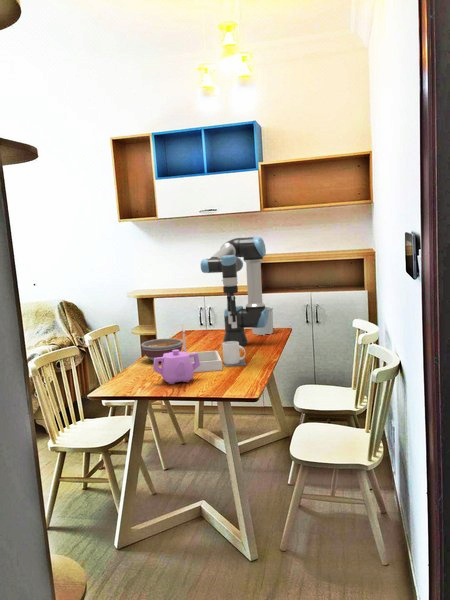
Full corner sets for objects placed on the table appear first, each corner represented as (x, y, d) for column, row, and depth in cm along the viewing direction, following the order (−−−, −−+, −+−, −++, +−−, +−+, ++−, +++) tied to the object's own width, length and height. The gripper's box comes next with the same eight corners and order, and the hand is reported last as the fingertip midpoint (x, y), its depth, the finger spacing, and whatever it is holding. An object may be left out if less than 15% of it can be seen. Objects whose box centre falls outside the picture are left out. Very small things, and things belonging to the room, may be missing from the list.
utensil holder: (267, 336, 367) (265, 309, 365) (247, 335, 375) (246, 309, 373) (277, 332, 379) (276, 306, 377) (258, 331, 387) (257, 305, 385)
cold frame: (217, 359, 310) (215, 321, 307) (222, 370, 286) (219, 329, 283) (184, 362, 308) (181, 324, 305) (185, 373, 284) (182, 331, 281)
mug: (243, 365, 291) (242, 344, 290) (221, 364, 295) (220, 344, 293) (248, 361, 299) (246, 341, 298) (226, 360, 303) (225, 341, 301)
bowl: (135, 364, 310) (133, 346, 309) (154, 354, 331) (153, 338, 330) (173, 365, 302) (171, 347, 301) (190, 355, 323) (189, 338, 322)
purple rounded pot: (184, 387, 257) (182, 355, 255) (150, 385, 265) (148, 353, 263) (204, 377, 274) (202, 346, 273) (171, 374, 282) (169, 345, 281)
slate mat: (243, 360, 303) (243, 359, 303) (246, 365, 293) (246, 364, 292) (223, 362, 302) (223, 361, 302) (225, 367, 291) (225, 365, 291)
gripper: (220, 283, 304) (223, 322, 307) (225, 288, 280) (228, 330, 283) (234, 282, 305) (236, 321, 308) (240, 287, 280) (243, 329, 283)
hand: (232, 325), depth 295 cm, fingers open, 13 cm apart
